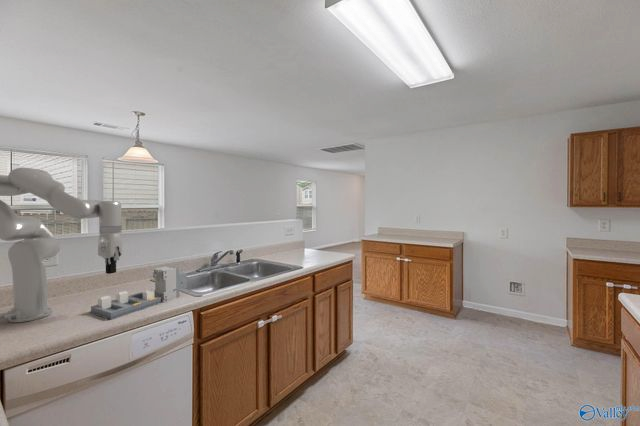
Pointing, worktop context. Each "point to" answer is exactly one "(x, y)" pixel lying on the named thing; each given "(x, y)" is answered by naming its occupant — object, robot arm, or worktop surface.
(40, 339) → the worktop surface
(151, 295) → the tab
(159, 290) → the circuit breaker
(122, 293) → the tab
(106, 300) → the tab
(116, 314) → the switch bank
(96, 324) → the worktop surface
